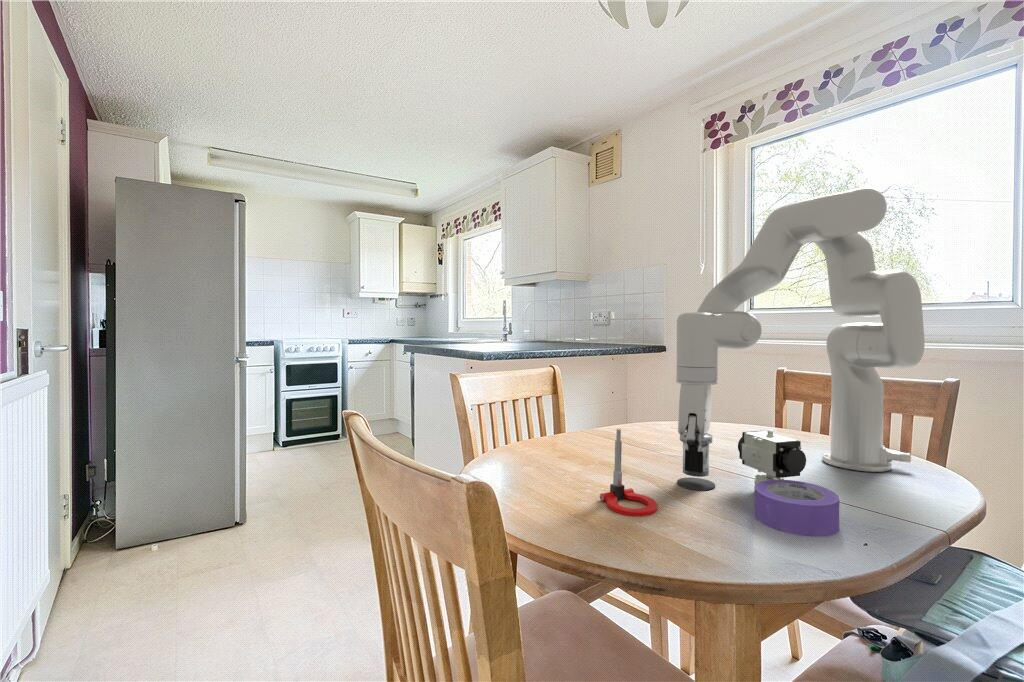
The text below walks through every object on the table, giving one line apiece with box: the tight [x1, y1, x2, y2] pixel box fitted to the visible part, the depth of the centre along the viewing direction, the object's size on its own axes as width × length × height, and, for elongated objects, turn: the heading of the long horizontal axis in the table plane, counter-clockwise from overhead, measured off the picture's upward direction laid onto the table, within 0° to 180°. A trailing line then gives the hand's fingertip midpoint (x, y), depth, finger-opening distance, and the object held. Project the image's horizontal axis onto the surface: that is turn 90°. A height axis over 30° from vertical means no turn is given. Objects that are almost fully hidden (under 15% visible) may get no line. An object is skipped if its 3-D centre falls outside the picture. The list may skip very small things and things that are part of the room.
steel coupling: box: [679, 431, 713, 478], centre depth 94 cm, size 6×6×8 cm
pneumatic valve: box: [737, 429, 807, 485], centre depth 88 cm, size 6×12×12 cm, turn 15°
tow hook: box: [599, 428, 658, 517], centre depth 83 cm, size 8×13×9 cm
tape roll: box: [753, 479, 840, 538], centre depth 77 cm, size 12×12×5 cm
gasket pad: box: [676, 476, 716, 492], centre depth 95 cm, size 7×7×1 cm
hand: (696, 466), depth 95 cm, fingers closed on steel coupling, 4 cm apart
